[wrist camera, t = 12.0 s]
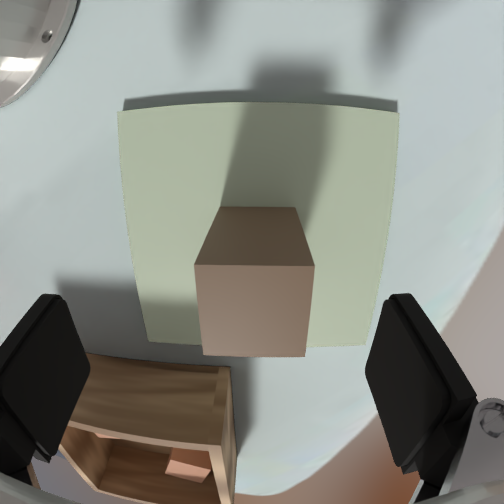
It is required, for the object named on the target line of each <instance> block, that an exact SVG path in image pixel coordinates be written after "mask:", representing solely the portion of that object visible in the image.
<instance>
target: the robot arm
mask: <svg viewBox="0 0 504 504" xmlns="http://www.w3.org/2000/svg"><path fill="white" fill-rule="evenodd" d="M76 3H77V0H0V107H4V106H6V105H8V104H10V103H12V102H13V101H15V100H17V99H18V98H19V97H20V96H22V95H23V94H24V93H25V92H26V91H28V90H29V89H30V88H31V86H32V85H33V84H34V83H35V82H36V81H37V80H38V79H39V78H40V76H41V75H42V74H43V72H44V71H45V69H46V68H47V67H48V65H49V64H50V63H51V61H52V59H53V58H54V56H55V54H56V52H57V51H58V49H59V47H60V46H61V44H62V42H63V39H64V37H65V35H66V33H67V31H68V29H69V26H70V23H71V20H72V17H73V14H74V12H75V8H76ZM90 368H91V367H90V363H89V360H88V358H87V356H86V353H85V351H84V348H83V346H82V343H81V341H80V338H79V336H78V333H77V331H76V328H75V325H74V323H73V320H72V317H71V314H70V312H69V309H68V306H67V303H66V301H65V300H63V299H62V297H61V296H60V295H56V294H42V295H41V296H40V297H39V298H38V299H37V301H36V302H35V303H34V304H33V305H32V307H31V308H30V309H29V310H28V311H27V313H26V314H25V315H24V316H23V318H22V319H21V320H20V321H19V323H18V324H17V325H16V327H15V328H14V329H13V330H12V332H11V333H10V334H9V336H8V337H7V338H6V340H5V341H4V342H3V344H2V345H1V346H0V504H81V503H77V502H74V501H71V500H68V499H65V498H62V497H59V496H56V495H53V494H51V493H48V492H45V491H43V490H41V488H40V486H39V483H38V480H37V477H36V475H35V472H34V469H33V466H32V463H31V459H32V456H34V457H35V458H36V459H38V460H41V461H44V462H47V463H50V460H51V457H52V456H54V455H55V454H56V453H57V451H58V448H59V445H60V443H61V440H62V438H63V435H64V433H65V430H66V428H67V425H68V423H69V420H70V418H71V415H72V413H73V411H74V408H75V406H76V404H77V401H78V399H79V397H80V394H81V392H82V390H83V388H84V385H85V383H86V381H87V379H88V377H89V374H90ZM365 375H366V379H367V381H368V384H369V387H370V390H371V393H372V396H373V398H374V401H375V404H376V407H377V410H378V413H379V416H380V419H381V422H382V425H383V428H384V431H385V434H386V437H387V440H388V443H389V447H390V450H391V453H392V456H393V459H394V462H395V464H396V466H398V467H400V466H401V469H402V472H403V474H407V473H411V472H414V471H418V472H419V475H420V478H421V480H420V482H419V484H418V486H417V488H416V490H415V492H414V494H413V496H412V498H411V500H410V502H409V504H504V401H503V400H501V399H497V398H487V399H484V400H482V401H481V402H480V403H478V401H477V399H476V396H477V394H476V393H475V391H474V389H473V387H472V386H471V384H470V382H469V381H468V379H467V378H466V376H465V374H464V372H463V371H462V369H461V368H460V366H459V364H458V363H457V361H456V359H455V358H454V356H453V355H452V353H451V352H450V350H449V348H448V347H447V345H446V344H445V342H444V341H443V339H442V338H441V336H440V335H439V333H438V332H437V330H436V329H435V327H434V326H433V324H432V323H431V321H430V320H429V318H428V317H427V316H426V314H425V313H424V311H423V310H422V308H421V307H420V305H419V304H418V303H417V301H416V300H415V298H414V297H413V296H412V295H411V294H409V293H405V294H392V295H391V296H390V297H389V300H385V301H384V303H383V307H382V311H381V315H380V318H379V322H378V326H377V329H376V333H375V336H374V340H373V343H372V347H371V350H370V353H369V357H368V360H367V363H366V367H365Z"/></svg>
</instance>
